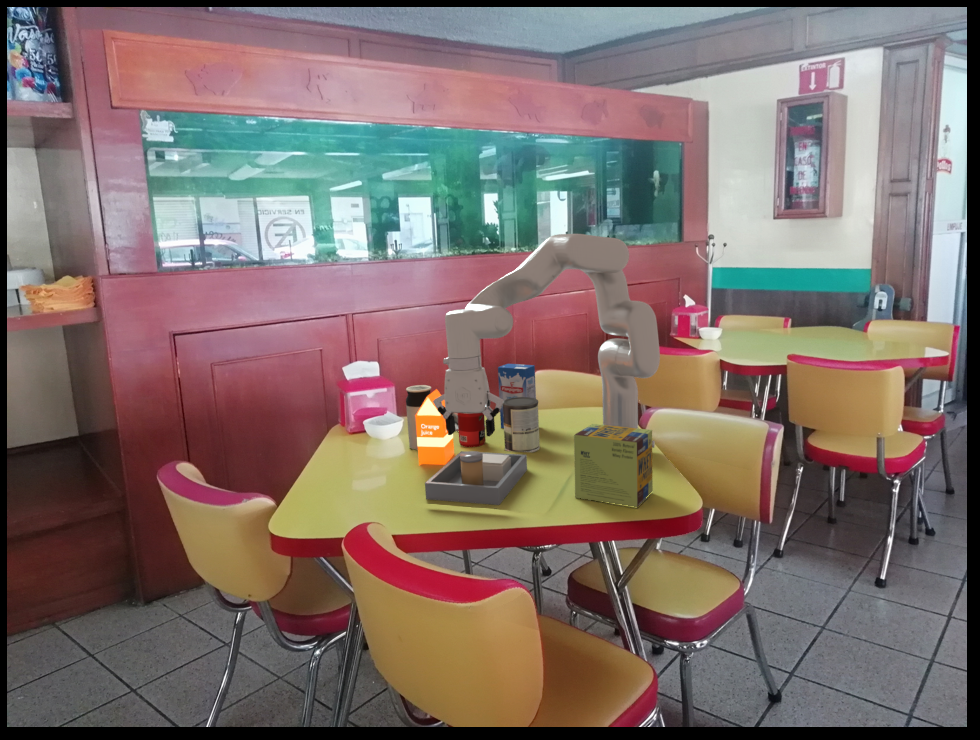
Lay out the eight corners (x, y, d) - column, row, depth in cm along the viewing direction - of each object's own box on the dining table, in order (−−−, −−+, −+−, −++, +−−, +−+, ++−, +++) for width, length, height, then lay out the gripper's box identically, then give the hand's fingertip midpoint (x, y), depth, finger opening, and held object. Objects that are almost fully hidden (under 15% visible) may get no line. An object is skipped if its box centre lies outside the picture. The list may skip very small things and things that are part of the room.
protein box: (638, 509, 152) (637, 442, 149) (574, 498, 160) (572, 434, 157) (653, 493, 161) (653, 429, 158) (592, 483, 169) (591, 422, 166)
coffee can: (497, 451, 198) (495, 403, 195) (517, 441, 206) (514, 395, 203) (527, 456, 192) (525, 407, 189) (546, 446, 200) (545, 398, 197)
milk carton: (537, 426, 221) (534, 365, 217) (527, 431, 216) (525, 369, 212) (510, 423, 226) (507, 363, 222) (500, 428, 221) (497, 367, 217)
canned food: (485, 447, 202) (483, 410, 200) (458, 448, 202) (456, 412, 200) (486, 439, 210) (484, 404, 207) (460, 440, 210) (457, 405, 208)
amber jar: (479, 495, 162) (478, 459, 160) (458, 493, 164) (456, 457, 162) (487, 487, 167) (485, 452, 165) (466, 485, 169) (464, 450, 167)
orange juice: (454, 457, 194) (450, 388, 190) (446, 468, 185) (441, 396, 182) (428, 457, 196) (423, 388, 192) (418, 467, 187) (413, 395, 183)
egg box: (511, 472, 177) (510, 454, 176) (503, 481, 170) (502, 463, 169) (471, 469, 180) (470, 452, 179) (461, 478, 174) (460, 461, 173)
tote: (527, 473, 178) (526, 454, 177) (499, 509, 156) (498, 488, 155) (462, 469, 184) (461, 451, 183) (426, 503, 162) (424, 482, 161)
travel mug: (429, 451, 201) (425, 391, 197) (404, 449, 203) (400, 390, 200) (440, 443, 208) (436, 385, 205) (416, 441, 211) (412, 384, 207)
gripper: (424, 366, 158) (430, 438, 162) (495, 366, 153) (500, 440, 156) (436, 360, 165) (442, 428, 169) (505, 359, 160) (510, 430, 163)
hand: (470, 434), depth 163 cm, fingers open, 9 cm apart
